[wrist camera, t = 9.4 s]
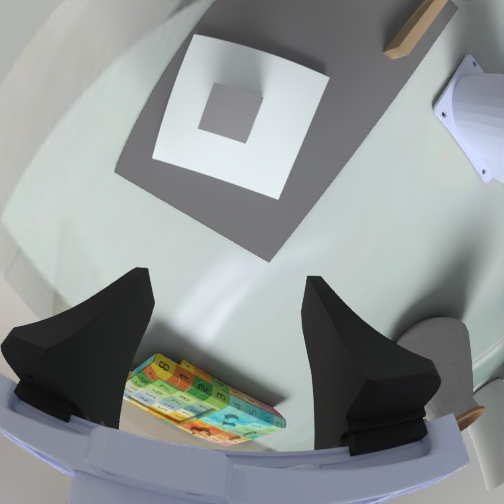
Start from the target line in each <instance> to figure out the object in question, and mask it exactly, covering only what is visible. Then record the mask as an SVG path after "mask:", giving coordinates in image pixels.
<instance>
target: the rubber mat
mask: <svg viewBox="0 0 504 504" xmlns="http://www.w3.org/2000/svg"><path fill="white" fill-rule="evenodd" d="M423 1H424V0H217V1H216V2H215V3H214V4H213V6H212V7H211V8H210V9H209V10H208V12H207V13H206V14H205V15H204V16H203V18H202V19H201V20H200V22H199V23H198V24H197V25H196V27H195V28H194V29H193V31H192V32H191V33H190V35H189V36H188V38H187V39H186V40H185V42H184V43H183V45H182V46H181V47H180V49H179V50H178V52H177V53H176V55H175V56H174V58H173V59H172V61H171V62H170V64H169V66H168V67H167V69H166V70H165V72H164V74H163V75H162V77H161V78H160V80H159V82H158V83H157V85H156V87H155V89H154V90H153V92H152V94H151V96H150V97H149V99H148V101H147V103H146V105H145V107H144V108H143V110H142V112H141V114H140V116H139V118H138V120H137V122H136V124H135V126H134V128H133V130H132V132H131V134H130V136H129V139H128V141H127V143H126V145H125V147H124V149H123V152H122V154H121V156H120V159H119V161H118V163H117V166H116V168H115V171H114V172H115V173H117V174H118V175H120V176H122V177H123V178H125V179H127V180H128V181H130V182H132V183H134V184H135V185H137V186H139V187H140V188H142V189H144V190H146V191H147V192H149V193H151V194H152V195H154V196H156V197H158V198H159V199H161V200H163V201H164V202H166V203H168V204H169V205H171V206H173V207H175V208H176V209H178V210H180V211H181V212H183V213H185V214H187V215H188V216H190V217H192V218H193V219H195V220H197V221H199V222H200V223H202V224H204V225H205V226H207V227H209V228H211V229H212V230H214V231H216V232H217V233H219V234H221V235H223V236H224V237H226V238H228V239H229V240H231V241H233V242H235V243H236V244H238V245H240V246H241V247H243V248H245V249H246V250H248V251H250V252H252V253H253V254H255V255H257V256H258V257H260V258H262V259H264V260H265V261H267V262H270V261H271V260H272V258H273V257H274V256H275V255H276V253H277V252H278V251H279V249H280V248H281V247H282V246H283V244H284V243H285V242H286V241H287V239H288V238H289V237H290V236H291V234H292V233H293V232H294V231H295V229H296V228H297V227H298V225H299V224H300V223H301V222H302V220H303V219H304V218H305V217H306V215H307V214H308V213H309V211H310V210H311V209H312V208H313V206H314V205H315V204H316V202H317V201H318V200H319V199H320V197H321V196H322V195H323V193H324V192H325V191H326V189H327V188H328V187H329V186H330V184H331V183H332V182H333V180H334V179H335V178H336V176H337V175H338V174H339V172H340V171H341V170H342V169H343V167H344V166H345V165H346V163H347V162H348V161H349V159H350V158H351V157H352V155H353V154H354V153H355V151H356V150H357V149H358V147H359V146H360V145H361V143H362V142H363V141H364V139H365V138H366V137H367V135H368V134H369V133H370V131H371V130H372V129H373V127H374V126H375V125H376V123H377V122H378V121H379V119H380V118H381V117H382V115H383V114H384V112H385V111H386V110H387V108H388V107H389V106H390V104H391V103H392V102H393V100H394V99H395V97H396V96H397V95H398V93H399V92H400V90H401V89H402V88H403V86H404V85H405V84H406V82H407V81H408V79H409V78H410V77H411V75H412V74H413V72H414V71H415V70H416V68H417V67H418V65H419V64H420V63H421V61H422V60H423V58H424V57H425V55H426V54H427V53H428V51H429V50H430V48H431V47H432V45H433V44H434V42H435V41H436V40H437V38H438V37H439V35H440V34H441V32H442V31H443V29H444V28H445V26H446V25H447V24H448V22H449V21H450V19H451V18H452V16H453V15H454V13H455V12H456V10H457V9H458V7H457V6H456V5H455V4H454V3H453V2H452V1H451V0H448V1H447V2H446V4H445V5H444V7H443V8H442V9H441V11H440V12H439V13H438V15H437V16H436V18H435V19H434V20H433V22H432V23H431V24H430V26H429V27H428V29H427V30H426V31H425V33H424V34H423V35H422V37H421V38H420V40H419V41H418V42H417V44H416V45H415V46H414V48H413V49H412V50H411V52H410V53H409V55H407V56H403V57H400V58H396V59H393V60H390V59H389V58H388V57H387V56H386V55H385V54H384V53H383V52H384V51H385V49H386V48H387V47H388V46H389V44H390V43H391V42H392V40H393V39H394V38H395V37H396V35H397V34H398V33H399V31H400V30H401V29H402V28H403V26H404V25H405V24H406V22H407V21H408V20H409V19H410V17H411V16H412V15H413V14H414V12H415V11H416V10H417V9H418V7H419V6H420V5H421V4H422V2H423ZM194 34H196V35H201V36H206V37H211V38H215V39H220V40H224V41H228V42H232V43H236V44H240V45H243V46H247V47H250V48H253V49H257V50H260V51H263V52H266V53H269V54H272V55H275V56H278V57H281V58H284V59H286V60H289V61H292V62H294V63H297V64H299V65H302V66H304V67H307V68H309V69H311V70H314V71H316V72H318V73H321V74H323V75H325V76H327V77H329V80H328V83H327V85H326V87H325V90H324V92H323V95H322V97H321V99H320V102H319V104H318V107H317V109H316V111H315V114H314V116H313V118H312V121H311V123H310V126H309V128H308V130H307V133H306V135H305V138H304V140H303V142H302V145H301V147H300V149H299V152H298V154H297V157H296V159H295V161H294V164H293V166H292V168H291V171H290V173H289V175H288V178H287V180H286V183H285V185H284V187H283V190H282V192H281V194H280V197H279V199H278V200H277V199H275V198H272V197H269V196H266V195H264V194H261V193H258V192H255V191H252V190H250V189H247V188H244V187H241V186H238V185H235V184H232V183H229V182H226V181H223V180H220V179H217V178H214V177H211V176H208V175H205V174H202V173H199V172H196V171H193V170H189V169H186V168H183V167H180V166H176V165H173V164H170V163H166V162H163V161H160V160H156V159H153V158H152V157H153V153H154V149H155V145H156V141H157V138H158V134H159V131H160V127H161V124H162V120H163V117H164V114H165V111H166V108H167V104H168V101H169V98H170V95H171V92H172V90H173V87H174V84H175V81H176V78H177V76H178V73H179V70H180V68H181V65H182V62H183V60H184V57H185V55H186V52H187V50H188V47H189V45H190V43H191V40H192V38H193V36H194Z"/></svg>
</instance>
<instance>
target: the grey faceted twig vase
mask: <svg viewBox="0 0 504 504" xmlns="http://www.w3.org/2000/svg"><path fill="white" fill-rule="evenodd" d="M396 344H398V345H400V346H402V347H403V348H405V349H407V350H409V351H411V352H413V353H416V354H418V355H420V356H423V357H425V358H428V359H430V360H432V361H433V363H434V365H435V367H436V369H437V371H438V373H439V375H440V377H441V385H440V388H439V390H438V391H437V392H436V394H435V395H434V396H433V397H432V399H431V400H430V401H429V402H428V403H427V404H426V405H425V407H424V408H425V411H426V416H425V418H424V422H425V424H426V423H427V422H429V421H431V420H434V419H436V418H440V417H443V416H446V415H448V414H451V413H452V414H454V416H455V419H456V422H457V424H458V427H459V430H460V432H461V431H462V430H464V429H465V428H467V427H468V426H470V425H471V424H472V423H474V422H475V421H476V420H477V419H478V418H479V417H480V416H481V415H482V414H483V413H484V411H485V407H484V406H479V404H478V403H477V402H476V401H475V400H474V398H473V373H472V359H471V349H470V341H469V333H468V330H467V328H466V325H465V324H464V323H462V322H461V321H459V320H457V319H455V318H450V317H440V318H429V319H426V320H423V321H421V322H419V323H417V324H415V325H414V326H412V327H411V328H410V329H408V330H407V331H406V332H405V333H404V334H403V335H402V336H401V337H400V338H399V339H398V341H397V342H396Z"/></svg>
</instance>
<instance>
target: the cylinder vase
mask: <svg viewBox="0 0 504 504" xmlns="http://www.w3.org/2000/svg"><path fill="white" fill-rule="evenodd" d="M473 398H474V400H475V401H476V402H477V403H478V404H479V406H484V407H485V411H484V413H483V414H482V415H481V416H480V417H479V418H478V419H477V420H476V421H475V422H474V423H472V424H471V425H470V426H468V427H467V428H468V430H469V433H470V436H471V439H472V441H473V444H474V447H475V450H476V453H477V456H478V459H479V463H480V466H481V469H482V473H483V477H484V480H485V484H486V488H487V491H490V490H492V489H494V488H496V487H498V486H500V485H501V484H503V483H504V382H503V380H502V379H495V380H493V381H491V382H489V383H488V384H486V385H485V386H483V387H482V388H481V389H479V390H478V391H477V392H476V393H474V394H473Z"/></svg>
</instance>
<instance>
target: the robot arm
mask: <svg viewBox="0 0 504 504" xmlns="http://www.w3.org/2000/svg"><path fill="white" fill-rule="evenodd" d="M473 63H474V65H473ZM433 110H434V113H435V114H436V115H437V117H438V118H439V119H440V120H441V121H442V123H443V124H444V125H445V126H446V128H447V129H448V130H449V131H450V133H451V134H452V135H453V137H454V138H455V139H456V141H457V142H458V144H459V145H460V146H461V148H462V149H463V151H464V152H465V153H466V155H467V156H468V158H469V159H470V161H471V162H472V164H473V165H474V167H475V168H476V170H477V172H478V173H479V175H480V177H481V178H482V180H483V182H484V183H486V184H488V183H489V182H490V181H491V179H492V178H495V179H497V180H499V181H501V182H503V183H504V74H486V73H485V72H484V71H483V70H482V68H481V67H480V65H479V64H478V63H477V61H476V60H475V59H474V57H473V56H472V55H470V54H468V55H466V56H465V58H464V59H463V61H462V63H461V64H460V66H459V67H458V69H457V71H456V72H455V74H454V76H453V77H452V79H451V80H450V82H449V83H448V85H447V87H446V88H445V90H444V91H443V93H442V94H441V96H440V97H439V99H438V100H437V102H436V103H435V105H434V107H433ZM442 112H443V113H444V116H442ZM482 171H483V172H482ZM154 305H155V301H154V296H153V292H152V287H151V282H150V277H149V271H148V268H139V267H136V268H134V269H132V270H131V271H129V272H128V273H126V274H125V275H123V276H122V277H120V278H119V279H117V280H116V281H115V282H113V283H112V284H110V285H109V286H107V287H106V288H104V289H103V290H101V291H100V292H98V293H97V294H95V295H94V296H92V297H91V298H89V299H87V300H86V301H84V302H82V303H80V304H78V305H77V306H75V307H73V308H71V309H69V310H66V311H64V312H62V313H60V314H57V315H55V316H53V317H50V318H47V319H44V320H41V321H38V322H35V323H32V324H28V325H24V326H19V327H14V328H13V329H12V330H11V332H10V333H9V334H8V336H7V337H6V339H5V340H4V341H3V343H2V344H1V352H2V354H3V356H4V358H5V360H6V361H7V363H8V364H9V365H10V367H11V368H12V369H13V371H14V372H15V373H16V375H17V376H18V377H19V379H20V381H19V383H18V384H17V383H15V382H14V381H13V380H12V379H10V378H8V377H6V376H5V375H3V374H1V373H0V432H1V433H3V434H4V435H5V436H6V437H7V438H8V439H10V440H11V441H13V442H14V443H15V444H17V445H18V446H20V447H21V448H23V449H25V450H26V451H27V452H29V453H31V454H32V455H34V456H36V457H37V458H39V459H40V460H42V461H44V462H45V463H47V464H49V465H51V466H52V467H54V468H56V469H58V470H60V471H61V472H63V473H65V474H67V475H69V476H71V477H73V480H72V484H71V487H70V491H69V494H68V498H67V502H66V504H379V503H382V502H386V501H389V500H392V499H395V498H398V497H401V496H404V495H407V494H410V493H412V492H415V491H418V490H420V489H423V488H425V487H428V486H430V485H433V484H435V483H437V482H439V481H440V480H442V479H444V478H446V477H448V476H449V475H451V474H453V473H454V472H456V471H458V470H459V469H461V468H463V467H464V466H465V465H467V464H469V462H470V459H469V456H468V453H467V450H466V447H465V444H464V441H463V438H462V435H461V432H460V430H459V427H458V424H457V422H456V419H455V416H454V414H452V413H451V414H448V415H446V416H443V417H440V418H436V419H434V420H431V421H429V422H427V423H426V424H425V422H424V419H423V417H425V416H426V411H425V408H424V407H425V405H426V404H427V403H428V402H429V401H430V400H431V399H432V397H433V396H434V395H435V394H436V392H437V391H438V390H439V388H440V385H441V377H440V375H439V373H438V371H437V369H436V367H435V365H434V363H433V361H432V360H430V359H428V358H425V357H423V356H420V355H418V354H416V353H413V352H411V351H409V350H407V349H405V348H403V347H402V346H400V345H398V344H396V343H394V342H393V341H391V340H390V339H388V338H387V337H385V336H383V335H382V334H380V333H379V332H378V331H376V330H375V329H374V328H372V327H371V326H370V325H368V324H367V323H366V322H365V321H363V320H362V319H361V318H360V317H359V316H358V315H357V314H356V313H355V312H354V311H352V310H351V309H350V308H349V307H348V306H347V305H346V304H345V303H344V302H343V301H342V299H341V298H340V297H339V296H338V295H337V294H336V293H335V292H334V291H333V290H332V288H331V287H330V286H329V285H328V284H327V283H326V282H325V280H324V279H323V278H322V277H321V276H307V280H306V286H305V292H304V298H303V303H302V309H301V318H302V329H303V335H304V340H305V344H306V349H307V354H308V359H309V363H310V368H311V374H312V383H313V397H314V425H315V441H314V450H309V451H291V452H249V451H231V450H219V449H209V448H201V447H197V446H192V445H185V444H179V443H173V442H168V441H162V440H157V439H153V438H148V437H144V436H140V435H136V434H132V433H128V432H124V431H121V430H119V419H120V412H121V406H122V400H123V395H124V391H125V386H126V382H127V378H128V374H129V370H130V367H131V364H132V361H133V358H134V356H135V353H136V351H137V349H138V346H139V344H140V342H141V340H142V337H143V335H144V333H145V331H146V328H147V326H148V324H149V321H150V318H151V315H152V312H153V308H154Z"/></svg>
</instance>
